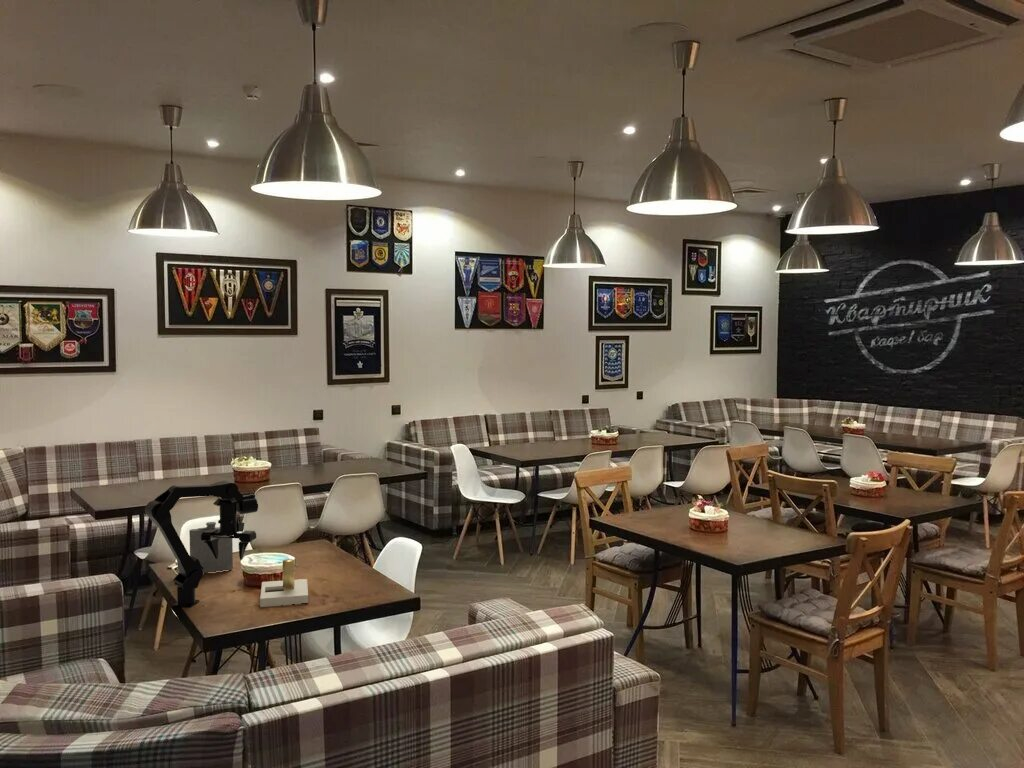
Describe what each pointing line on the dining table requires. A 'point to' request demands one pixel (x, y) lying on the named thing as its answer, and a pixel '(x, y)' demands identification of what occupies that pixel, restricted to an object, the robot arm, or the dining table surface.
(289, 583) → the brass peg
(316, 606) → the dining table surface
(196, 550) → the hip flask
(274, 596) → the keyhole plate
